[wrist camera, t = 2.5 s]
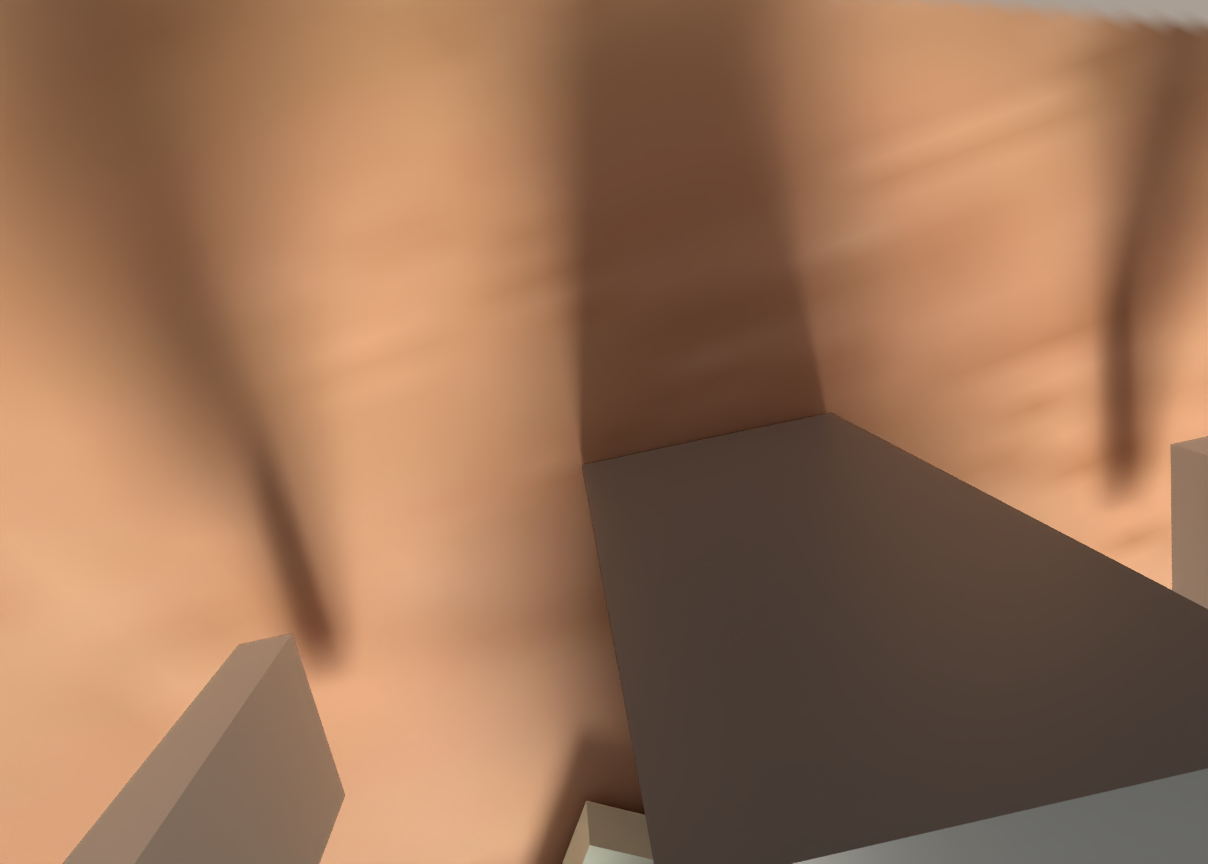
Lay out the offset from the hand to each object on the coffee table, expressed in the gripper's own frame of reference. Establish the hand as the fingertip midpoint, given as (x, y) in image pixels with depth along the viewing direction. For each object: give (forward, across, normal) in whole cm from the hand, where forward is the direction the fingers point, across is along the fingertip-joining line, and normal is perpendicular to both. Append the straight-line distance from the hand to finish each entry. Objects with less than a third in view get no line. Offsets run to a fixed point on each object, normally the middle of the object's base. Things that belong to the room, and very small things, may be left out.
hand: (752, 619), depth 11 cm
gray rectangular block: (+1, 0, 0) cm, 1 cm away
